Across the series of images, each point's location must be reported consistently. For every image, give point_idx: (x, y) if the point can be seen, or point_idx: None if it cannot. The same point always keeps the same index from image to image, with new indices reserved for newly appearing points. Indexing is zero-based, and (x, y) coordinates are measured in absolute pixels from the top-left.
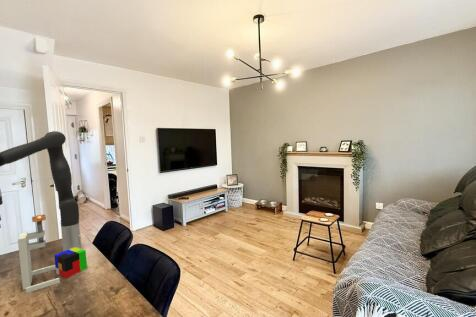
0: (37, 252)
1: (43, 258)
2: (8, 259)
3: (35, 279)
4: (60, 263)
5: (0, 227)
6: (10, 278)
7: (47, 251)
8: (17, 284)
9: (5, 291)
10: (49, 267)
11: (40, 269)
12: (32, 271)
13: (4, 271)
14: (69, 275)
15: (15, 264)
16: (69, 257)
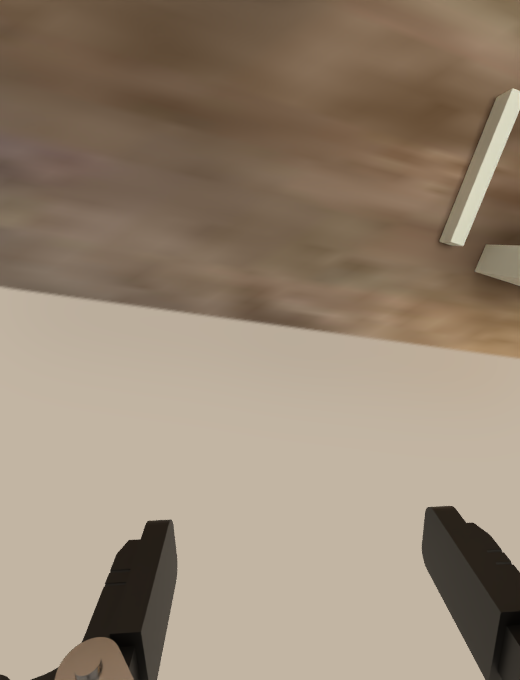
0: (75, 117)
1: (244, 123)
2: (49, 275)
3: (517, 238)
4: None
5: (453, 509)
6: (374, 316)
7: (120, 60)
8: (483, 306)
9: (502, 352)
10: (500, 152)
11: (481, 197)
12: (463, 234)
13: (243, 320)
14: None
15: (186, 263)
16: None
